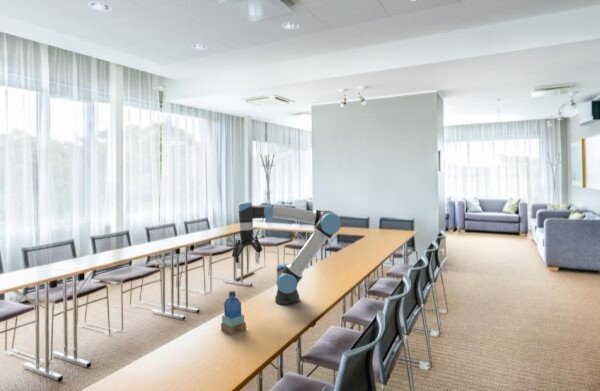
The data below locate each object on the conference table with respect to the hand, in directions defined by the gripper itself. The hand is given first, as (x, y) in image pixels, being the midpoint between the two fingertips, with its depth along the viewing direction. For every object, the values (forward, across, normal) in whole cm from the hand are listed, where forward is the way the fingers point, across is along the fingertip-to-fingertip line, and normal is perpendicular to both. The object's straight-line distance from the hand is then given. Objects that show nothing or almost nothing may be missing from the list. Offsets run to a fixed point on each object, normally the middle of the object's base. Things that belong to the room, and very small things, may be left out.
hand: (248, 265), depth 211 cm
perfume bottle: (+19, +22, +14) cm, 32 cm away
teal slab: (+23, +22, +14) cm, 35 cm away
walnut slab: (+27, +22, +14) cm, 37 cm away
